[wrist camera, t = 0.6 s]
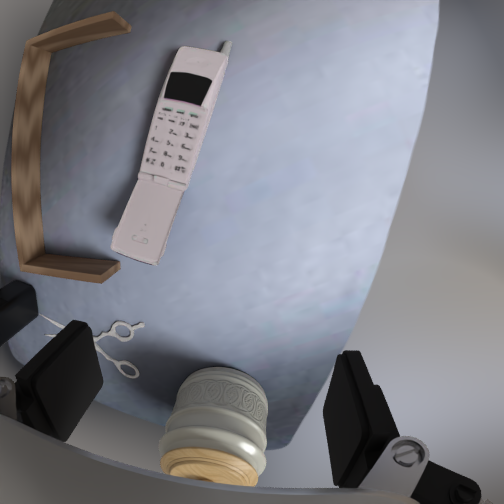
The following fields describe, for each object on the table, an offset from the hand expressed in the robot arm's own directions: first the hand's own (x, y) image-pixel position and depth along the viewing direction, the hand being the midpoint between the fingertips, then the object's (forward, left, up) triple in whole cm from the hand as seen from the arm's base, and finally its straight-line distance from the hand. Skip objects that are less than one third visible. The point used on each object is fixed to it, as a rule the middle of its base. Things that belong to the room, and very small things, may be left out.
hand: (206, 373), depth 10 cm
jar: (+25, -2, -25) cm, 35 cm away
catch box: (-9, -23, -24) cm, 35 cm away
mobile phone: (-9, -8, -25) cm, 28 cm away
